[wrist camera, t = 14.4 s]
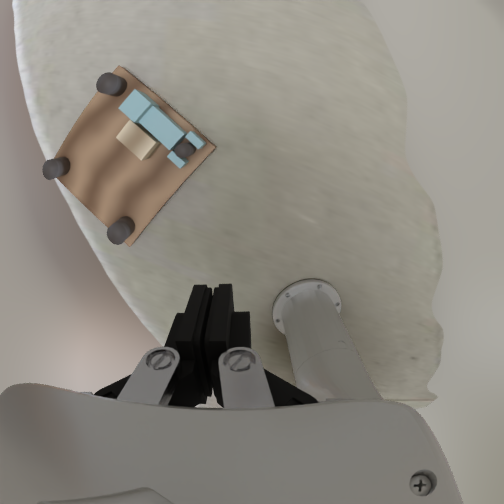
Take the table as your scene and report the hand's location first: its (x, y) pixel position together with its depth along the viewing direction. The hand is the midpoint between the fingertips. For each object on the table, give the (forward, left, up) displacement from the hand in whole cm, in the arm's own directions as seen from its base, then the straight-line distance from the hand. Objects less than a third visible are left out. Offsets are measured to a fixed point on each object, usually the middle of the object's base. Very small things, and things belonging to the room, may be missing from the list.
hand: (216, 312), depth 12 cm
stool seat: (+16, +7, -30) cm, 34 cm away
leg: (+13, 0, -27) cm, 30 cm away
